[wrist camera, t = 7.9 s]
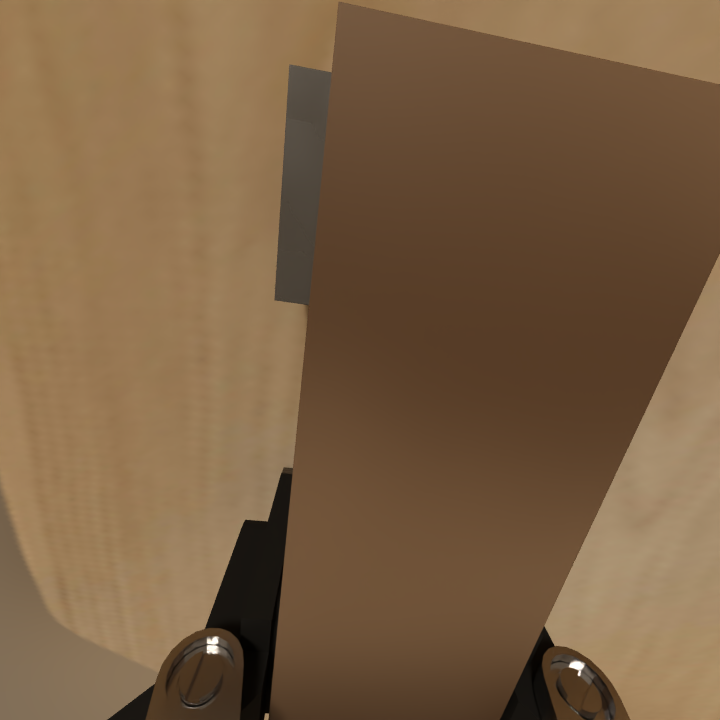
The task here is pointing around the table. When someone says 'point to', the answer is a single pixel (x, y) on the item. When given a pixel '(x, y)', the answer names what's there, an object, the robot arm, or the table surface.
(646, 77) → the walnut rail
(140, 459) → the table surface
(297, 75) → the bracket
